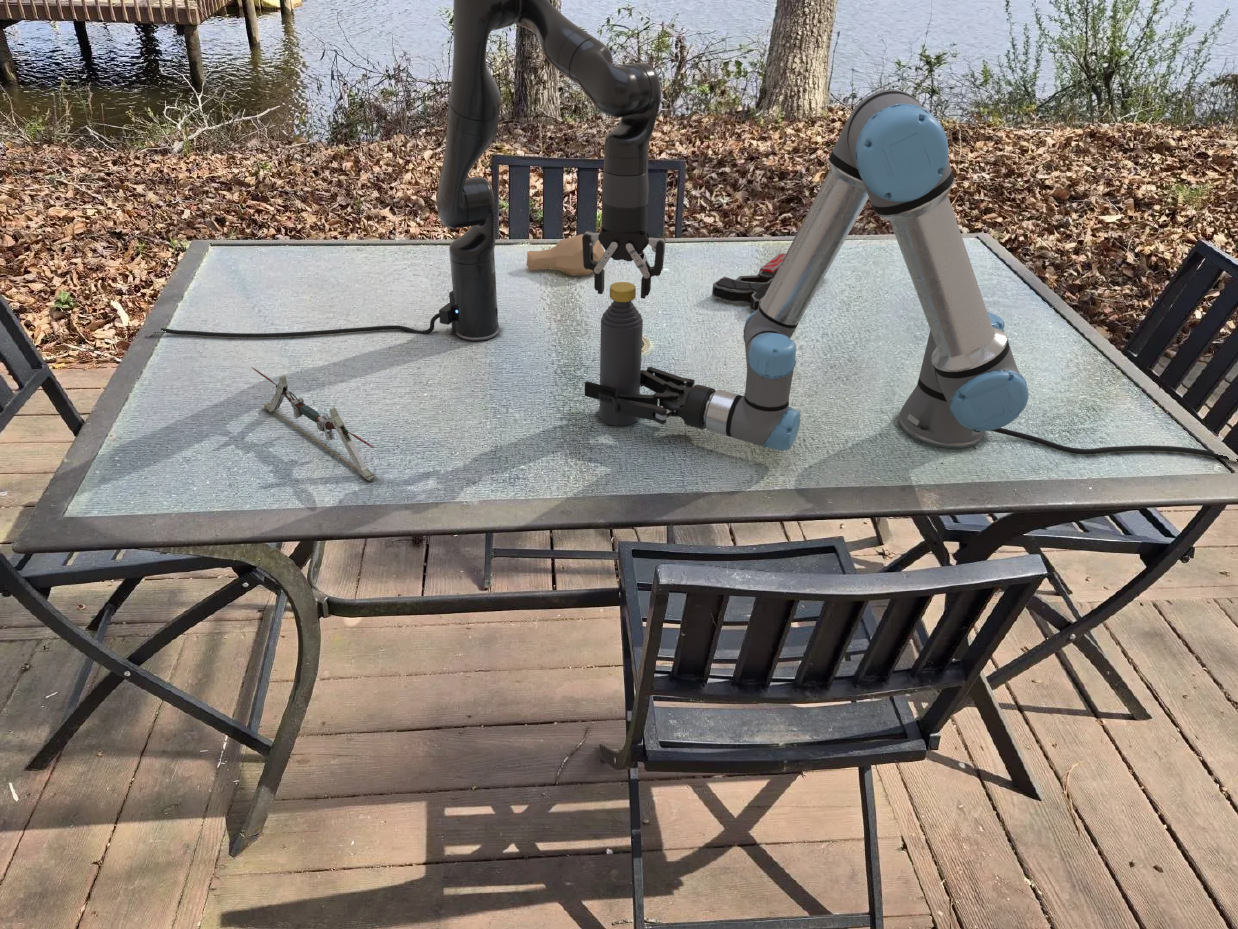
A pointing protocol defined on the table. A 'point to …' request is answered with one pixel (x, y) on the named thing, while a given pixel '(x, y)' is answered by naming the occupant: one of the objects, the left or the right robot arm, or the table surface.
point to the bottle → (620, 356)
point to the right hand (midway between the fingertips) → (596, 379)
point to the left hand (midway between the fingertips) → (622, 294)
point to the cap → (622, 291)
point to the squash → (564, 257)
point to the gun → (748, 285)
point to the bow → (319, 423)
